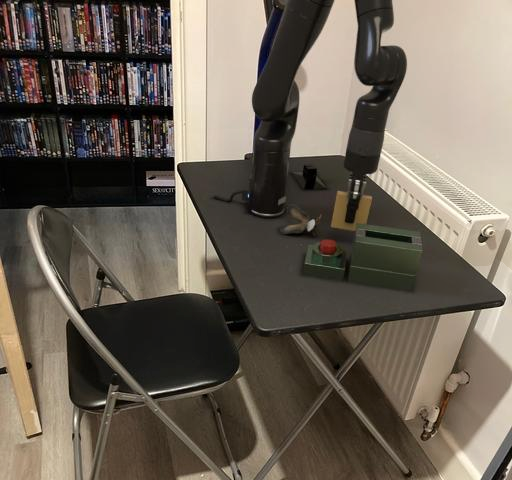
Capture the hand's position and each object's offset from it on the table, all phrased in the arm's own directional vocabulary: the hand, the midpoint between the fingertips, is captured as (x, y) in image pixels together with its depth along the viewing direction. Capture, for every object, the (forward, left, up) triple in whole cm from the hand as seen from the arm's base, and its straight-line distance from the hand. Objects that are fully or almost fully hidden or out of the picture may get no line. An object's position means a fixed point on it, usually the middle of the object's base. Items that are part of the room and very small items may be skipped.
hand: (349, 220), depth 134 cm
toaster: (+8, -11, -7) cm, 16 cm away
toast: (0, 0, -2) cm, 2 cm away
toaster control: (-4, -11, -7) cm, 14 cm away
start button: (-4, -11, -3) cm, 12 cm away
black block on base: (-13, +38, -7) cm, 41 cm away
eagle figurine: (-12, +4, -7) cm, 14 cm away
